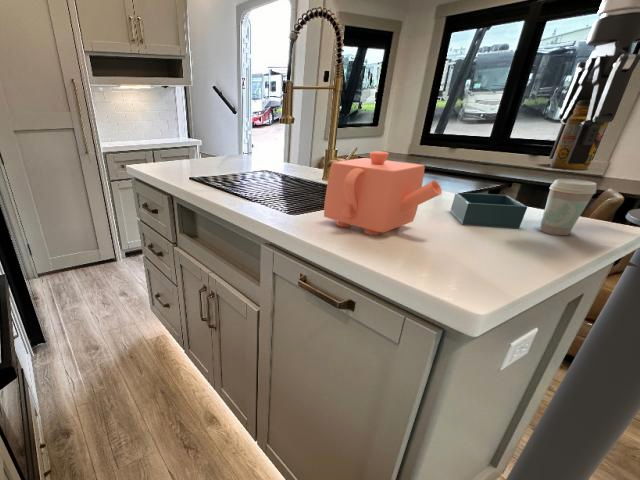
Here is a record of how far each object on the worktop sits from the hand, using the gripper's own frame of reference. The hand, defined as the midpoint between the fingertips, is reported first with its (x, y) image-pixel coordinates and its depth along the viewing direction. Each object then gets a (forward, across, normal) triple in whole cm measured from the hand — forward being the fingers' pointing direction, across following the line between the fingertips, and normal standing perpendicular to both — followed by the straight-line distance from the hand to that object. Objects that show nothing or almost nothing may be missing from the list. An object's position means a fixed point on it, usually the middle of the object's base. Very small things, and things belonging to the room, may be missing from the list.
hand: (565, 160), depth 71 cm
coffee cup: (+18, -13, +10) cm, 25 cm away
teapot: (+18, -5, -32) cm, 37 cm away
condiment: (+2, 0, 0) cm, 2 cm away
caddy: (+18, -20, -4) cm, 27 cm away
